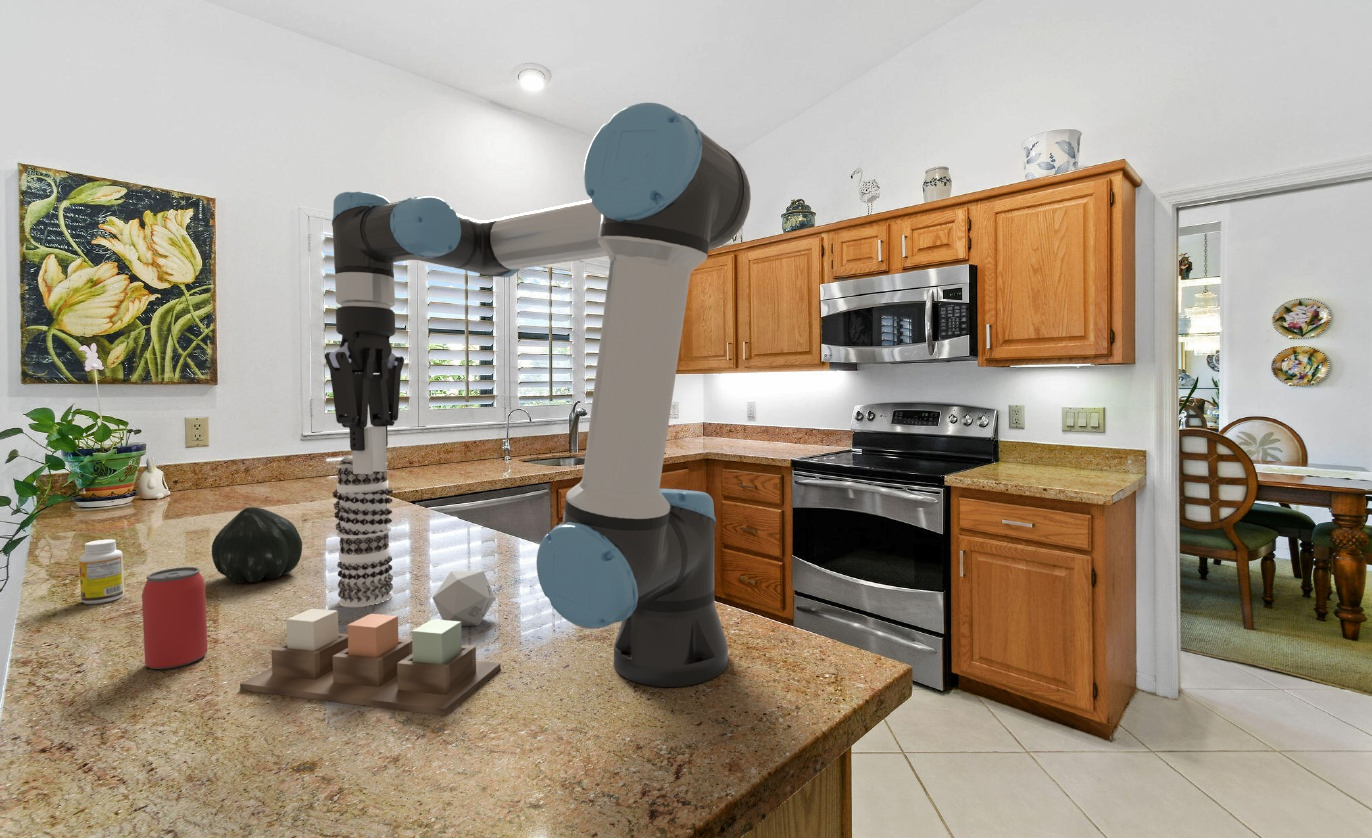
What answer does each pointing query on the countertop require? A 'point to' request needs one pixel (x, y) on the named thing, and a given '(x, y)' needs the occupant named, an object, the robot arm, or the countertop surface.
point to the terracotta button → (373, 635)
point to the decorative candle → (363, 536)
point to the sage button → (436, 641)
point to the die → (464, 597)
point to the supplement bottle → (101, 572)
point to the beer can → (174, 618)
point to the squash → (256, 546)
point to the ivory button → (312, 629)
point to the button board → (373, 677)
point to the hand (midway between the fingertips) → (370, 472)
